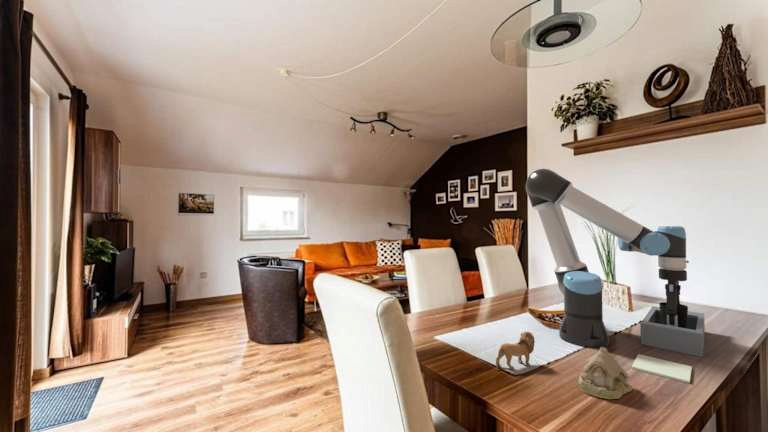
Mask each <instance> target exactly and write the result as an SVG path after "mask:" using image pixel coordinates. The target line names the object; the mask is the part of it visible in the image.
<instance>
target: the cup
mask: <svg viewBox="0 0 768 432" xmlns="http://www.w3.org/2000/svg"><path fill="white" fill-rule="evenodd" d="M658 304H659V305H658V307H660V313H661V320H662V324H663V325H667V314H664V312H666V302H665V301H664V302H663V301H662V302H659V303H658ZM669 311H671V310H669ZM688 311H689V306H687V305H686V304H682V303H680V304H677V322H678V327H680V328H686V323H687V313H688Z"/></svg>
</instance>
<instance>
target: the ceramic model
mask: <svg viewBox="0 0 768 432" xmlns="http://www.w3.org/2000/svg"><path fill="white" fill-rule="evenodd" d="M629 378H630V377H629V373H628V372H627V371H626V370H624V368H623V367H622V366H621V365H620V363H619V362H618V361H617V360H616V359H615V357H613V355H611V354H610V353H609V351H608V349H607V348H606V347H605V346H604V347H599V350H598V351H597V352H596V353H595V354H593V355H592V356H590V357H588V358H587V359H586V361H585V365H584V367H583V370H582V372H581V373H580V375H579V377H578V386H579V389H580V390H581V392H583V393H585V394H588V395H591V396H594V397H596V398H601V399H607V400H616V399H617V400H618V399H621V398H622V396H623V395H626V394H627V393H630V392H632V391H633V389H634V388H633V386H632V385H631V384H628V383H627V381H628V380H629Z"/></svg>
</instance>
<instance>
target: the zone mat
mask: <svg viewBox="0 0 768 432" xmlns="http://www.w3.org/2000/svg"><path fill="white" fill-rule="evenodd" d="M631 369H633V370H637V371H641V372H644V373H648V374H652V375H654V376H659V377H662V378H667V379H670V380H674V381H679V382H683V383H686V382H687V383H686V384H689V383H691V377H692V369H693V367H692V366H691V365H687V364H682V363H679V362H674V361H670V360H665V359H661V358H658V357H657V358H656V357H654V356H649V355H648V356H647V355H643V354H640V353H639V354H637V356H636V357H635V359H634V361H633V363H632V365H631Z"/></svg>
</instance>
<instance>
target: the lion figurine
mask: <svg viewBox="0 0 768 432" xmlns="http://www.w3.org/2000/svg"><path fill="white" fill-rule="evenodd" d="M535 343H536V341H535V336H534V335H533V333H531V332H530V331H523V332H521V333H520V337H519V341H518V342H517V343H508V342H505V343H502V344H501V345H500V347H499V350H498V353H497V357H496V358H495V368H496V369H497V370H498V369H499V368H500V367H501V363H500V360H501V359H502V358H503V357H504V356H505V358H506V365H507V367H508V368H509V369H510V370H515V367H514V366H512V365H511V361H512V358H513V357H515V358H516V357H517V362H518V363H519V364H523V359H522V356H524V358H525V362H524V363H525V365H526V366H527V367H531V363H529V362H530V354H532V353H533V352H534V349H535Z"/></svg>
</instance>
